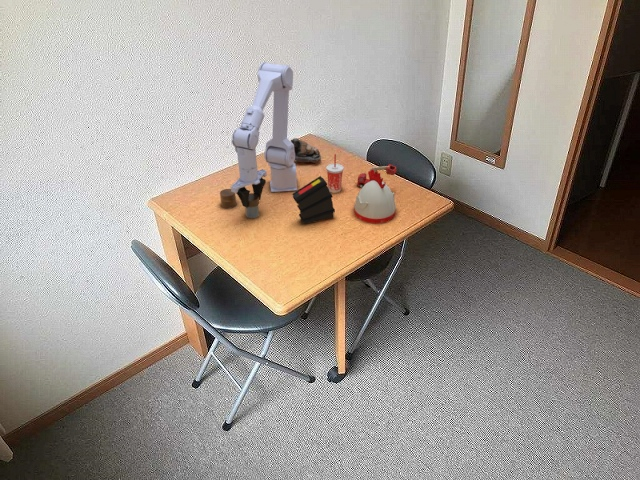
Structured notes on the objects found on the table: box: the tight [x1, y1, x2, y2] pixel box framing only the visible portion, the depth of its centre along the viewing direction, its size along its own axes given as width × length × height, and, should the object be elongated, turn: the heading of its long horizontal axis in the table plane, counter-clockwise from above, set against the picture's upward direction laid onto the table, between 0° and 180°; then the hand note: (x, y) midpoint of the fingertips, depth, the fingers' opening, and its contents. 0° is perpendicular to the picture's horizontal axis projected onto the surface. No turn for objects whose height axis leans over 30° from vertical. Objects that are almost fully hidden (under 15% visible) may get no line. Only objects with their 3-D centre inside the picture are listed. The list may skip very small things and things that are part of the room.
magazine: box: [291, 175, 336, 225], centre depth 158 cm, size 4×13×15 cm, turn 110°
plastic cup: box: [244, 204, 260, 219], centre depth 162 cm, size 4×4×4 cm
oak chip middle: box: [219, 188, 237, 202], centre depth 167 cm, size 5×5×2 cm
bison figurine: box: [290, 137, 322, 164], centre depth 192 cm, size 12×7×10 cm, turn 94°
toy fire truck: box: [356, 164, 397, 189], centre depth 175 cm, size 3×14×10 cm, turn 68°
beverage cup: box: [325, 153, 345, 194], centre depth 173 cm, size 6×6×14 cm
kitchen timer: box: [353, 169, 396, 224], centre depth 160 cm, size 14×14×15 cm
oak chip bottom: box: [220, 198, 237, 209], centre depth 168 cm, size 5×5×2 cm
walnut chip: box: [249, 192, 261, 207], centre depth 160 cm, size 5×5×2 cm
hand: (251, 202), depth 161 cm, fingers closed on walnut chip, 5 cm apart
